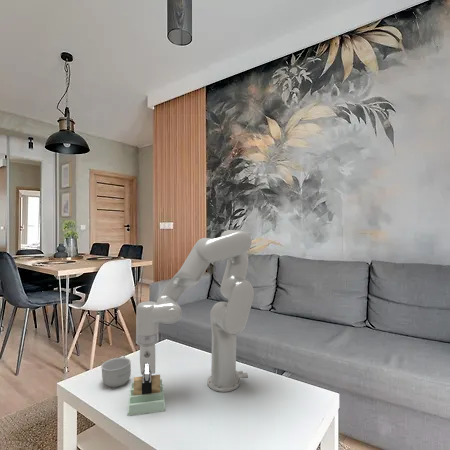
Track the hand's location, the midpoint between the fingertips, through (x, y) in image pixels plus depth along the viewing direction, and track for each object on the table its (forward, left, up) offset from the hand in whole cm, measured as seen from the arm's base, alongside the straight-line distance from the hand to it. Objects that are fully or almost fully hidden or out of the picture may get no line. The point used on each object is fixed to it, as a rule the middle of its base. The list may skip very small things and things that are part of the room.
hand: (146, 386), depth 109 cm
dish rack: (0, 0, -5) cm, 5 cm away
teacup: (+11, -16, -5) cm, 20 cm away
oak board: (0, 0, -4) cm, 4 cm away
